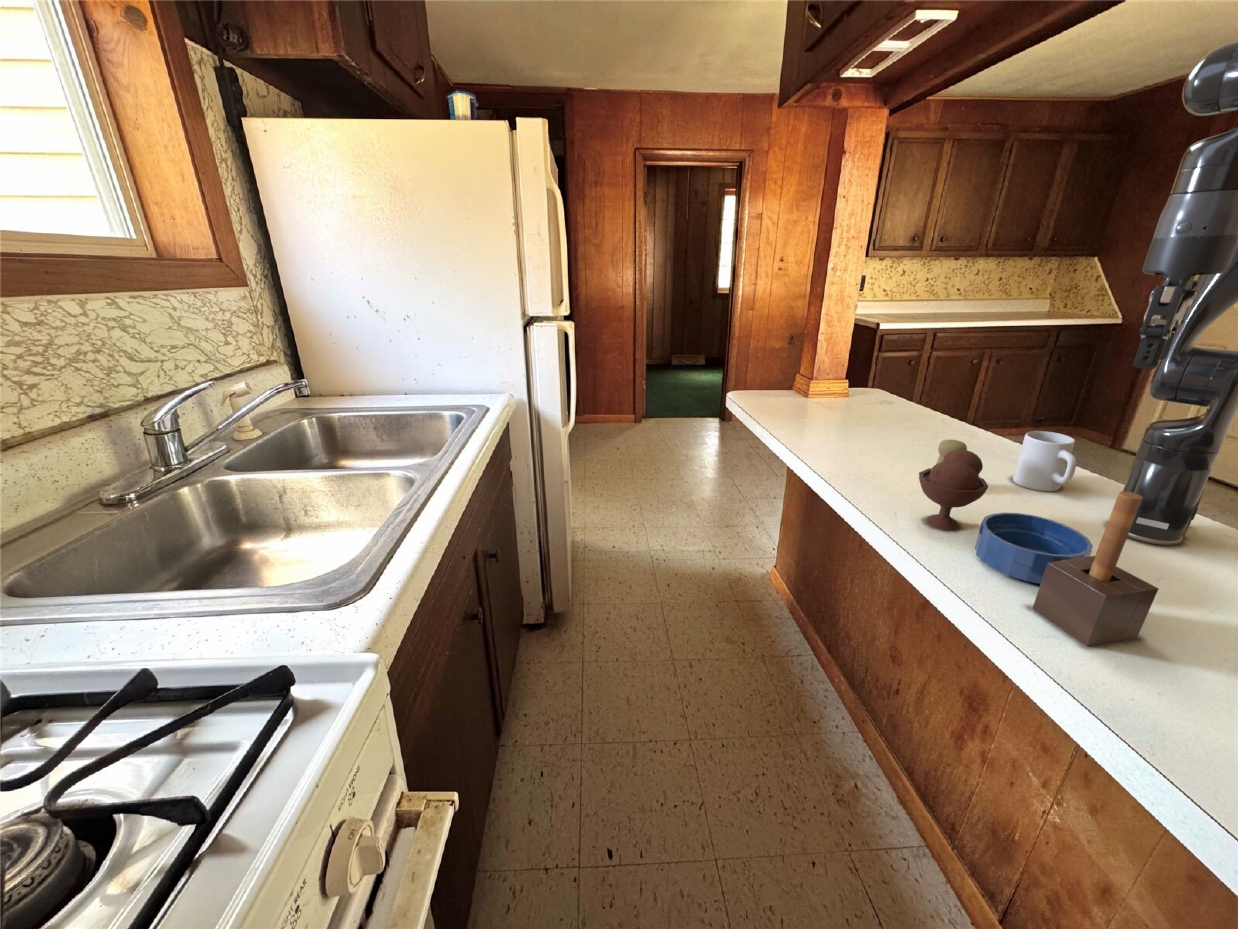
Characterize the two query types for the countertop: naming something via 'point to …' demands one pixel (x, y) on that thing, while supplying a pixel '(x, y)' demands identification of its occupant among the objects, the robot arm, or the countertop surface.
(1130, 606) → the stand
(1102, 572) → the stirring stick
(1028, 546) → the blue round bowl
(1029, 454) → the mug
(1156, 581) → the countertop surface
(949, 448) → the cork
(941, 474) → the ice cream bowl
